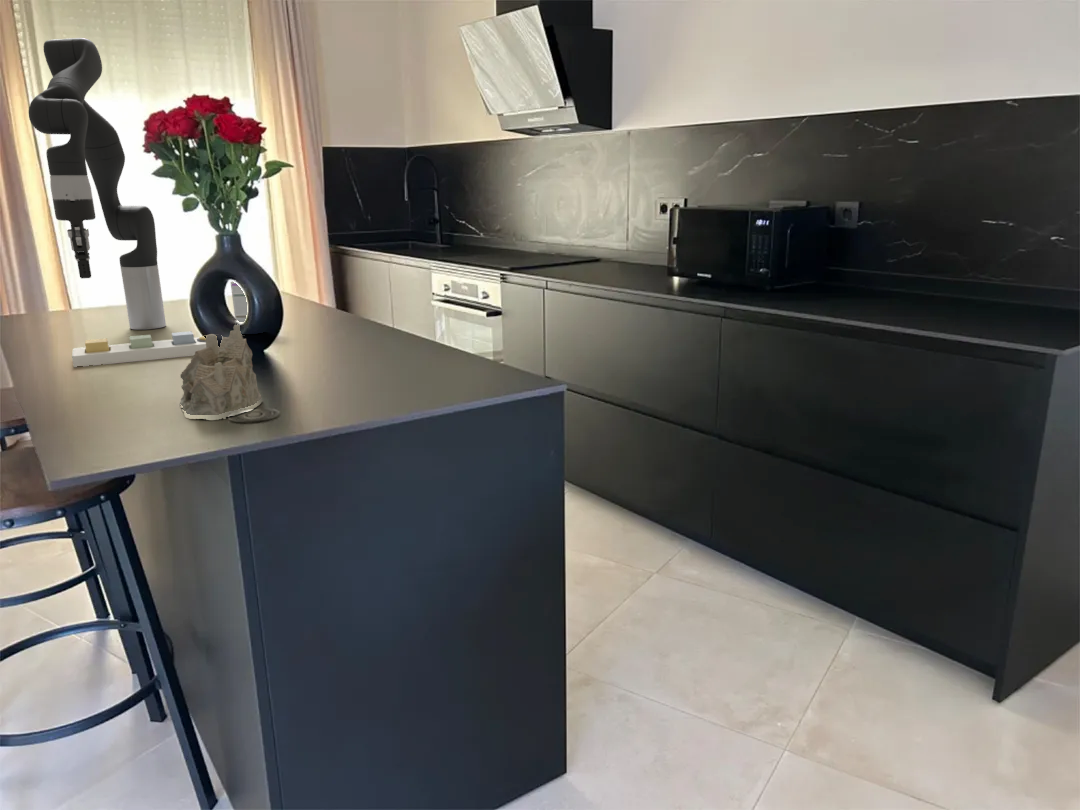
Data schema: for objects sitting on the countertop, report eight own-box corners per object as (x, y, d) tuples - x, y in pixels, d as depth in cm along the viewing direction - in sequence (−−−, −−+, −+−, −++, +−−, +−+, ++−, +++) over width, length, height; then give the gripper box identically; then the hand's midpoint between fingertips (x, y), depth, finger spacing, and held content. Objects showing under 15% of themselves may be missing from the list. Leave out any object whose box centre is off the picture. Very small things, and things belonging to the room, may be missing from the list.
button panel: (75, 358, 179) (72, 345, 178) (222, 344, 194) (220, 332, 193) (73, 367, 171) (71, 353, 170) (227, 352, 185) (226, 339, 184)
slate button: (173, 345, 186) (171, 332, 185) (193, 343, 188) (191, 331, 187) (174, 348, 182) (173, 335, 181) (194, 346, 184) (193, 334, 183)
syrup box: (258, 335, 206) (252, 280, 202) (236, 335, 206) (229, 280, 202) (265, 331, 212) (260, 278, 207) (244, 331, 212) (238, 278, 208)
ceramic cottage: (211, 391, 150) (200, 316, 145) (280, 402, 144) (272, 324, 139) (146, 418, 136) (132, 336, 131) (220, 432, 131) (208, 346, 126)
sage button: (131, 348, 182) (129, 336, 181) (152, 347, 184) (150, 334, 183) (132, 352, 178) (130, 339, 177) (153, 350, 180) (151, 337, 179)
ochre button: (87, 352, 177) (85, 340, 177) (109, 350, 179) (107, 338, 179) (87, 356, 174) (85, 343, 173) (109, 354, 176) (107, 341, 175)
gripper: (53, 197, 171) (67, 276, 176) (50, 198, 160) (65, 282, 165) (92, 196, 174) (104, 274, 179) (92, 197, 163) (105, 280, 168)
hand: (85, 277), depth 172 cm, fingers closed
